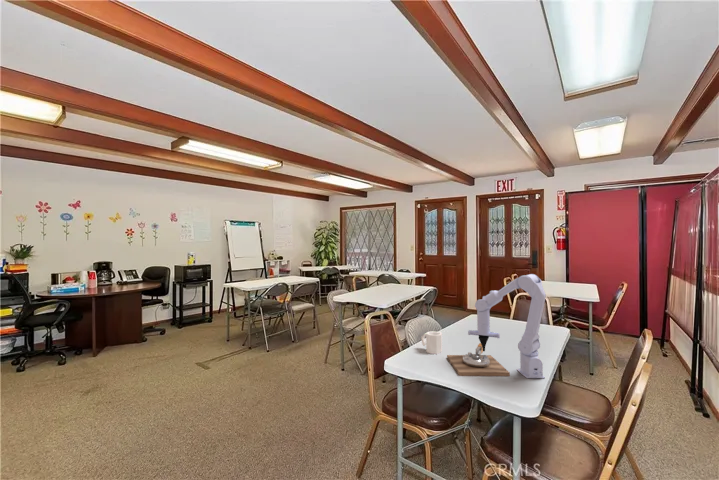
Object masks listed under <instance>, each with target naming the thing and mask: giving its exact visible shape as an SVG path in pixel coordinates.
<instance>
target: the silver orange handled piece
mask: <svg viewBox="0 0 719 480" xmlns="http://www.w3.org/2000/svg"><path fill="white" fill-rule="evenodd" d="M483 352H484V351H483V348H482V344H481V342H480V343H478V344H477V346H476V348H475V353H472V352H467V354H463V355H464V356H463V363H464V364H466V365H469V366H472V367H487V366H489V365H490V359H489V358H488V356H487V354H483Z"/></svg>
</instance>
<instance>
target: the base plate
mask: <svg viewBox="0 0 719 480" xmlns="http://www.w3.org/2000/svg"><path fill="white" fill-rule="evenodd" d="M464 355H465V354H447V355H446V359H447V360H448V362H449V363H450V364H451V366H452V367H453V369H454V371H456V373H457V375H458V376H460V377H461V376H462V377H463V376H464V377H465V376H466V377H473V376H474V377H478V376H479V377H510V376H511V373H510V371H509V370H507V368H506V367H504V366H503V365H502V364H501V363H500V362H499V361H497V359H496V358H495V357H494V356H492V355H490V354H488V355H487V354H486V355H487V356H488V358H489V359H490V365H489V366H487V367H472V366H469V365H466V364H464V363H463V356H464Z"/></svg>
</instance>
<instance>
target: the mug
mask: <svg viewBox="0 0 719 480" xmlns="http://www.w3.org/2000/svg"><path fill="white" fill-rule="evenodd" d="M420 339H421V343H422V346H426V347H425V348H426V350H425V351H426V352H425V353H428V354H431V355H439V354H440V355H441V354H442V352H443V333H442V332H440V331H433V330H432V331H427V332H426V333H424V334H422V335H421V337H420Z"/></svg>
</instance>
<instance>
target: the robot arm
mask: <svg viewBox="0 0 719 480" xmlns="http://www.w3.org/2000/svg"><path fill="white" fill-rule="evenodd" d="M516 289H517V290H519V289H522V290H523V291H525V292H526V293H527V294H528V295H529V297H530V298H531V300H530V305H529V310H528V316H527V319H526V325H525V329H524V332H523V334H522V336H521V339H520V341H519V342H518V344H517V348H518V351H519V352H520V353H519V355H520V356H519V357H520V358H519V363H520V364H519V365H520V366H519V367H520V368H516V370H517V371H518V372H519V373H520V374H521V375H522V376H524V377H525V378H526V379H546V378H545V375H544V372H543V370H544V369H543V368H544V367H543V364H544V363H543V362H542V360H541V359H540V358H539V352H538V350H539V349H540V348H541V343H540V335H539V332H540V331H539V330H540V327H541V321H542V316H543V311H544V308H545V303H546V297H547V295H546V291H545V290H544V289H545V288H544V286H543V281H542V279H541V278H540V277H539V276H538V275H537V274H534V273H530V274H526V275H525V274H524V275H520V276H519V277H517V278H515V279H513V280H512V281H510V282H508V283H507V284H506V285H505V286H503V287H502V288H501V289H499V290H490V291H489V293H488V294H486V295H483V296H482V299H477V300H476V301H475V304H474V307H475V309H476V311H477V313H476V315H477V317H476V318H477V319H476V320H477V322H476V323H477V325H476V326H477V327H476V328H477V330H472V329H471V330H470V329H468V330H467V335H468V336H471V335H472V336H478V340H479V342H480V343H481V344H482V348H483V352H484V353H485V351H486V346H487V342H488V340H489V338H495V339H496V338H497V339H500V338H501V337H500V336H501V334H500V333H499V332H493V331H491V329H490V328H491V325H490V324H491V323H490V321H491V320H490V318H491V317H490V315H491V314H490V310H491V308H492V307H494V306H496V305H497V304H499V303H500V302H502V301H503V298H504V297H505V296H506V295H508V294H509V293H512V292H513V291H514V290H516Z"/></svg>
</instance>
